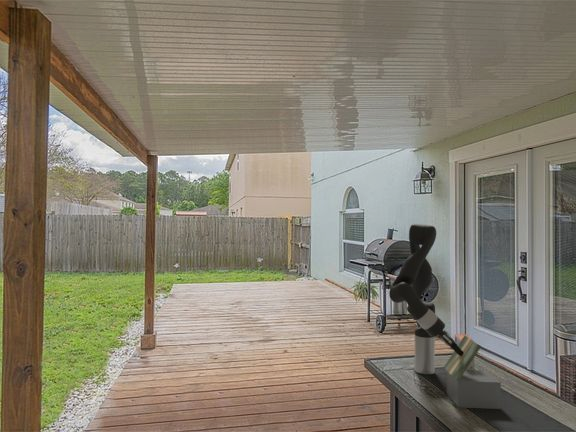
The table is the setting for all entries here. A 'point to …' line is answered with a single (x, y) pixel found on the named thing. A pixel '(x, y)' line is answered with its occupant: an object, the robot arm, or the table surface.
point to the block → (475, 390)
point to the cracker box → (457, 340)
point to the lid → (462, 358)
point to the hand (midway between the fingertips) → (461, 353)
